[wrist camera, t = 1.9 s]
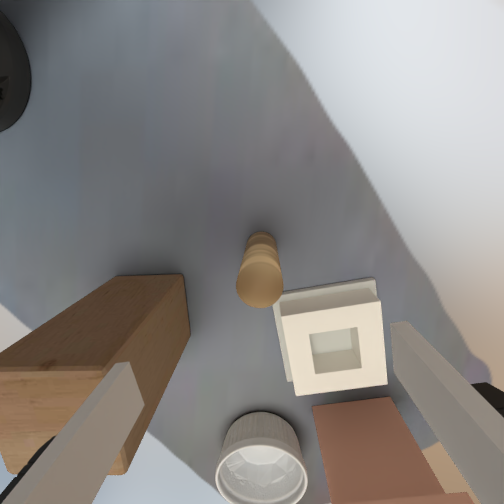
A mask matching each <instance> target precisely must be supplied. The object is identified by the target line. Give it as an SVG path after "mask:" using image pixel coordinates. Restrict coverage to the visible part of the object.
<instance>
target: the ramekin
mask: <svg viewBox="0 0 504 504" xmlns="http://www.w3.org/2000/svg"><path fill="white" fill-rule="evenodd" d="M215 480H216V485H217V488H218V490H219V492H220V493H221V495H222V496H223V497H224V498H225V499H226V500H227V501H228V502H229V503H231V504H296V503H297V502H298V501H299V500H300V499H301V498H302V496H303V495H304V493H305V491H306V488H307V482H308V478H307V469H306V465H305V462H304V460H303V458H302V454H301V450H300V446H299V442H298V439H297V436H296V434H295V432H294V430H293V428H292V427H291V426H290V424H288V423H287V422H286V421H285V420H284V419H282V418H281V417H279V416H277V415H275V414H272V413H267V412H254V413H250V414H247V415H244V416H242V417H241V418H239V419H238V420H236V421H235V422H234V423H233V424H232V426H231V427H230V429H229V430H228V432H227V435H226V437H225V441H224V444H223V448H222V452H221V456H220V457H219V459H218V462H217V466H216V474H215Z"/></svg>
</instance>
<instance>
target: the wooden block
mask: <svg viewBox="0 0 504 504" xmlns="http://www.w3.org/2000/svg"><path fill="white" fill-rule="evenodd" d="M189 338H190V327H189V319H188V311H187V303H186V295H185V287H184V278H183V275H181V274H171V275H141V276H116V277H114V278H112V279H111V280H109V281H108V282H106V283H105V284H103V285H102V286H100V287H99V288H97V289H96V290H94V291H93V292H91V293H90V294H88V295H87V296H85V297H84V298H82V299H81V300H79V301H77V302H76V303H74V304H73V305H71V306H70V307H68V308H67V309H65V310H64V311H62V312H61V313H59V314H58V315H56V316H55V317H53V318H52V319H50V320H49V321H47V322H46V323H44V324H43V325H41V326H40V327H38V328H37V329H35V330H34V331H32V332H31V333H29V334H28V335H26V336H25V337H23V338H22V339H20V340H19V341H17V342H16V343H14V344H13V345H11V346H10V347H8V348H7V349H5V350H4V351H2V352H1V353H0V452H1V455H2V457H3V460H4V463H5V465H6V468H7V471H8V472H10V473H12V474H18V473H19V472H20V471H21V469H22V468H23V467H24V466H25V465H27V462H28V461H29V460H30V459H31V457H32V456H33V455H34V454H35V453H36V452H37V450H38V449H39V448H40V447H41V446H43V445H44V444H45V443H46V442H47V441H48V440H50V439H51V438H52V437H53V436H57V435H58V433H59V432H60V431H61V430H62V428H63V427H64V426H65V425H66V424H67V422H68V421H69V420H70V419H71V417H72V416H73V415H74V414H75V413H76V411H77V410H78V409H79V408H80V406H81V405H82V404H83V403H84V401H85V400H86V399H87V398H88V397H89V395H90V394H91V393H92V392H93V390H94V389H95V388H96V387H97V386H98V384H99V383H100V382H101V381H102V379H103V378H104V377H105V376H106V374H107V373H108V372H109V371H110V370H111V368H112V367H113V366H114V365H115V363H122V362H130V365H131V368H132V371H133V373H134V376H135V379H136V382H137V385H138V388H139V390H140V393H141V396H142V399H143V402H144V404H145V405H144V407H143V409H142V411H141V413H140V415H139V416H138V418H137V420H136V422H135V424H134V426H133V428H132V429H131V431H130V433H129V435H128V437H127V439H126V441H125V443H124V444H123V446H122V448H121V450H120V452H119V454H118V456H117V457H116V459H115V461H114V463H113V465H112V467H111V469H110V471H109V472H108V474H107V475H123V474H125V473H126V472H127V471H128V468H129V466H130V464H131V462H132V460H133V458H134V455H135V453H136V451H137V449H138V447H139V445H140V443H141V440H142V438H143V436H144V434H145V432H146V430H147V428H148V426H149V423H150V421H151V419H152V417H153V415H154V413H155V411H156V408H157V406H158V404H159V402H160V400H161V398H162V396H163V393H164V391H165V389H166V387H167V385H168V383H169V381H170V378H171V376H172V374H173V372H174V370H175V368H176V366H177V363H178V361H179V359H180V357H181V355H182V353H183V351H184V348H185V346H186V344H187V342H188V340H189Z"/></svg>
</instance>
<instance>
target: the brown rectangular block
mask: <svg viewBox="0 0 504 504" xmlns="http://www.w3.org/2000/svg"><path fill="white" fill-rule="evenodd" d="M312 410H313V416H314V421H315V425H316V430H317V435H318V440H319V445H320V450H321V455H322V459H323V464H324V469H325V474H326V479H327V484H328V488H329V493H330V498H331V503H332V504H474V503H473V501H472V499H471V498H470V496H469V495H468V493H467V492H460V493H449V494H446V493H445V492H444V490H443V488H442V486H441V485H440V483H439V481H438V479H437V478H436V476H435V474H434V473H433V471H432V469H431V467H430V466H429V464H428V462H427V460H426V458H425V457H424V455H423V453H422V451H421V450H420V448H419V446H418V444H417V443H416V441H415V439H414V438H413V436H412V434H411V432H410V431H409V429H408V427H407V425H406V424H405V422H404V420H403V418H402V417H401V415H400V413H399V411H398V410H397V408H396V406H395V404H394V403H393V401H392V399H391V397H383V398H375V399H366V400H358V401H350V402H342V403H334V404H326V405H318V406H312Z"/></svg>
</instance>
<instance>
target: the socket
mask: <svg viewBox="0 0 504 504" xmlns="http://www.w3.org/2000/svg"><path fill="white" fill-rule="evenodd" d="M272 306H273V311H274V316H275V321H276V326H277V331H278V336H279V341H280V347H281V352H282V357H283V362H284V367H285V372H286V377H287V382H290V381H293V383H294V388H295V394H296V396H300V395H308V394H316V393H324V392H332V391H339V390H347V389H355V388H363V387H371V386H378V385H386V384H388V383H387V371H386V360H385V348H384V336H383V324H382V312H381V301H380V300H379V299H378V298H377V293H376V282H375V279H374V278H373V277H370V278H364V279H358V280H352V281H346V282H340V283H334V284H328V285H322V286H316V287H310V288H304V289H297V290H291V291H285V292H282V295H281V297H280V298H279V300H278V301H277V302H276V303H274V304H273V305H272Z"/></svg>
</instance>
